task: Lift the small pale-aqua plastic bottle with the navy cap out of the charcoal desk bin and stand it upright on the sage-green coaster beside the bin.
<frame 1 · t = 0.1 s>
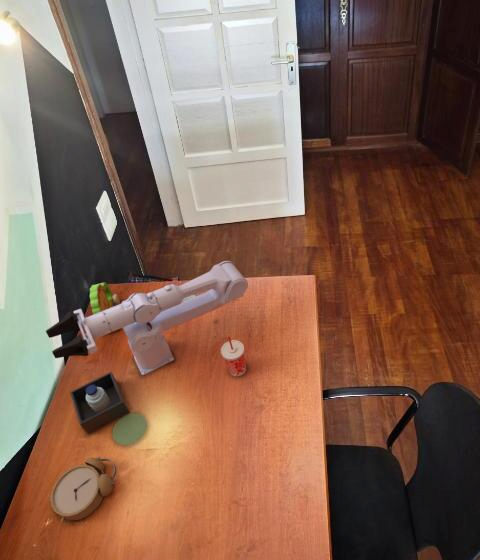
hand: (50, 344, 115), 22 cm above the table, tool horizontal, fingers open, 7 cm apart
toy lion: (112, 319, 149), on the table
alarm clock: (89, 490, 111), on the table
coaster: (130, 429, 121), on the table
bin: (103, 407, 126), on the table
beverage cup: (238, 369, 131), on the table
bottle: (97, 398, 123), in the bin
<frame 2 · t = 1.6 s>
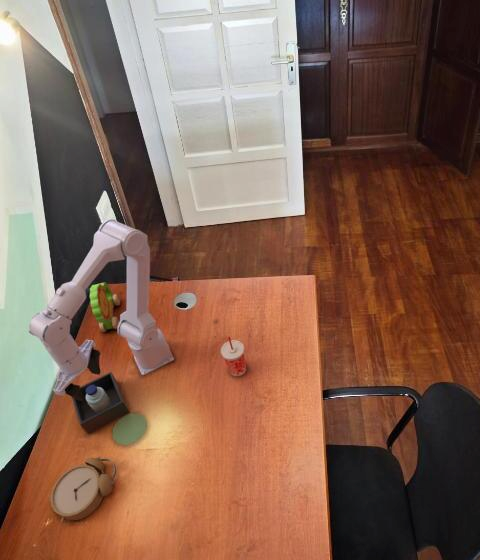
hand: (88, 385, 119), 10 cm above the table, tool pointing down, fingers open, 7 cm apart
nothing on the table moved.
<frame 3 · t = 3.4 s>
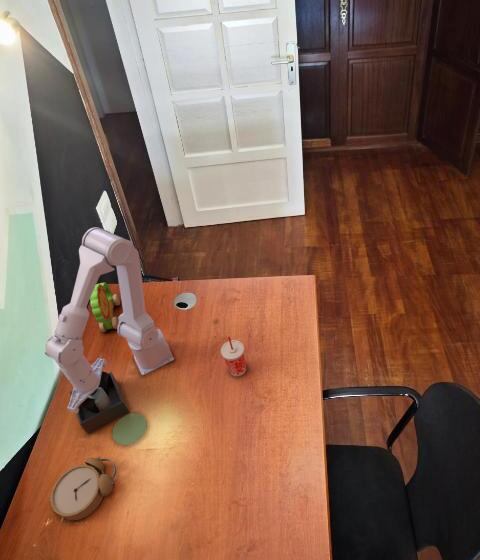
hand: (100, 402, 124), 3 cm above the table, tool pointing down, fingers closed on bottle, 5 cm apart
bottle: (97, 398, 123), in the bin, touching gripper
everything else where it was.
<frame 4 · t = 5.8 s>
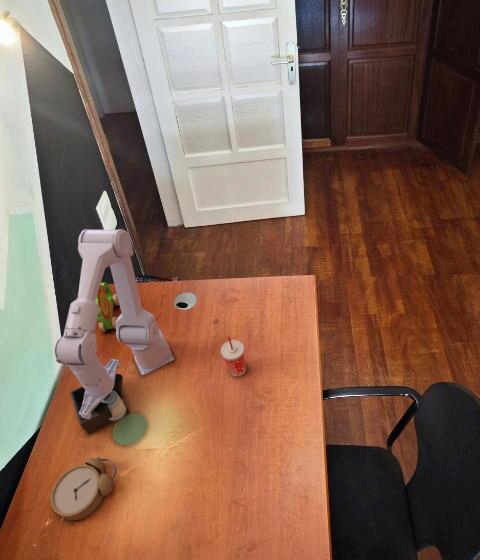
hand: (113, 406, 115), 10 cm above the table, tool pointing down, fingers closed on bottle, 5 cm apart
bottle: (110, 402, 113), point 12 cm above the table, touching gripper
everything else where it was.
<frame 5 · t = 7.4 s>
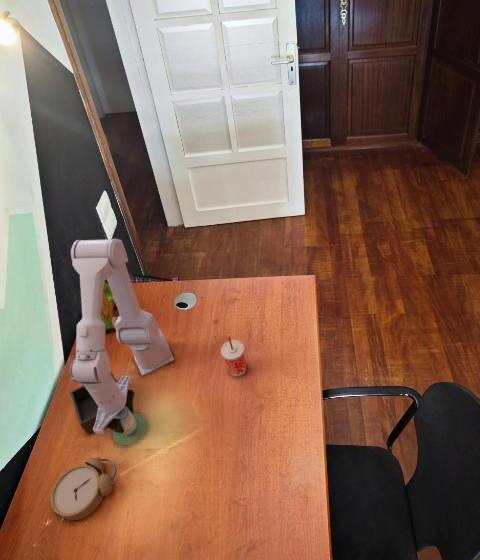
hand: (124, 421, 118), 4 cm above the table, tool pointing down, fingers closed on bottle, 5 cm apart
bottle: (122, 417, 117), point 6 cm above the table, touching gripper
everything else where it was.
when the fingers open (3 cm above the table, at t = 8.3 s): bottle stays where it is, resting on coaster.
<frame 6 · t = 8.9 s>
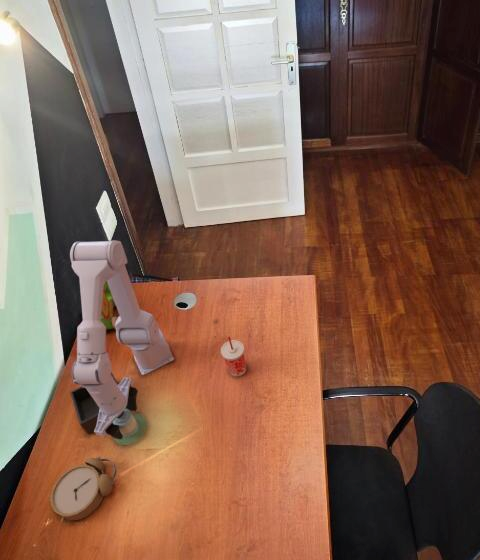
hand: (126, 423, 119), 3 cm above the table, tool pointing down, fingers open, 7 cm apart
bottle: (123, 420, 118), on the coaster
everything else where it was.
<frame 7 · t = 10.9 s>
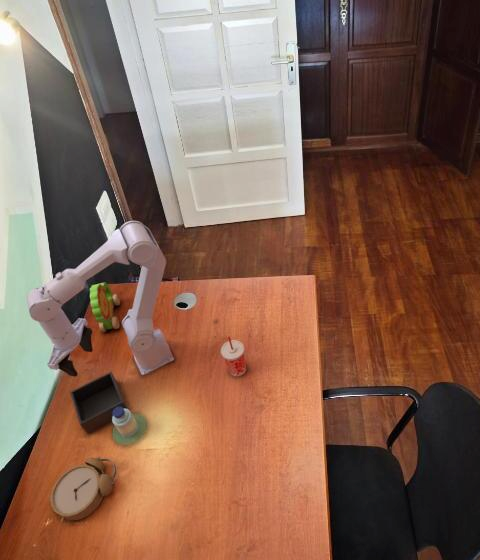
hand: (81, 362, 124), 10 cm above the table, tool pointing down, fingers open, 7 cm apart
nothing on the table moved.
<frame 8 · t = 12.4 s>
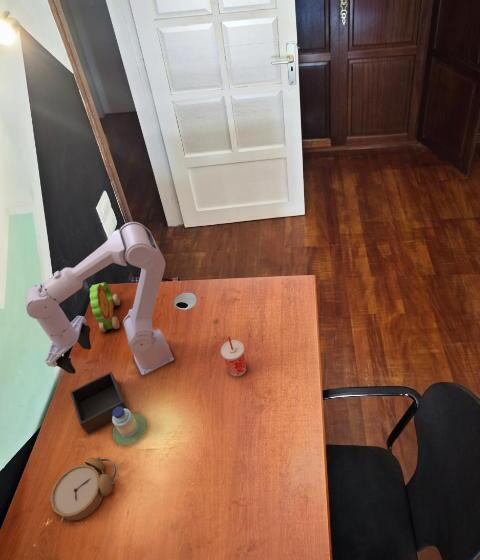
hand: (79, 360, 125), 10 cm above the table, tool pointing down, fingers open, 7 cm apart
nothing on the table moved.
at the end: bottle 0.0 cm off-centre on the coaster, point 4.7 cm above the coaster's base; bottle tilted 0°; the gripper is holding nothing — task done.
